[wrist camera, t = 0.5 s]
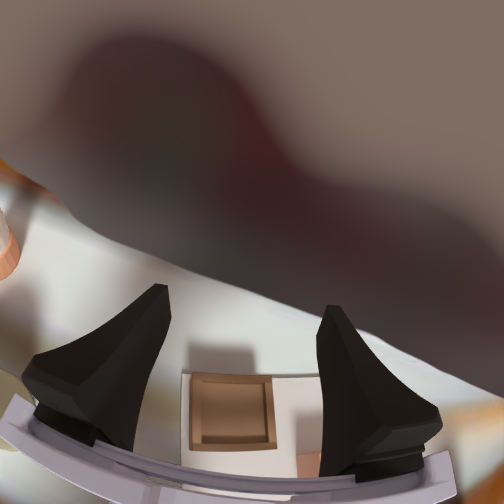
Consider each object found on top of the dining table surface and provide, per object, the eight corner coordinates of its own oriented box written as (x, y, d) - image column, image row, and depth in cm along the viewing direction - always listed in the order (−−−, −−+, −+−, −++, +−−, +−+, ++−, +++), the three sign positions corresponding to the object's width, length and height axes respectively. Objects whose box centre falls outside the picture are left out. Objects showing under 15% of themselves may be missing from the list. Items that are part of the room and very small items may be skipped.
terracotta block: (335, 482, 21) (362, 483, 18) (298, 490, 20) (322, 495, 17) (331, 448, 24) (358, 445, 21) (295, 454, 23) (319, 453, 19)
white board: (345, 487, 21) (348, 488, 21) (183, 507, 17) (183, 509, 16) (332, 377, 31) (334, 376, 31) (182, 374, 26) (182, 373, 26)
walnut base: (263, 449, 23) (277, 449, 20) (188, 450, 21) (192, 451, 18) (259, 384, 28) (271, 375, 25) (189, 380, 26) (193, 371, 23)
